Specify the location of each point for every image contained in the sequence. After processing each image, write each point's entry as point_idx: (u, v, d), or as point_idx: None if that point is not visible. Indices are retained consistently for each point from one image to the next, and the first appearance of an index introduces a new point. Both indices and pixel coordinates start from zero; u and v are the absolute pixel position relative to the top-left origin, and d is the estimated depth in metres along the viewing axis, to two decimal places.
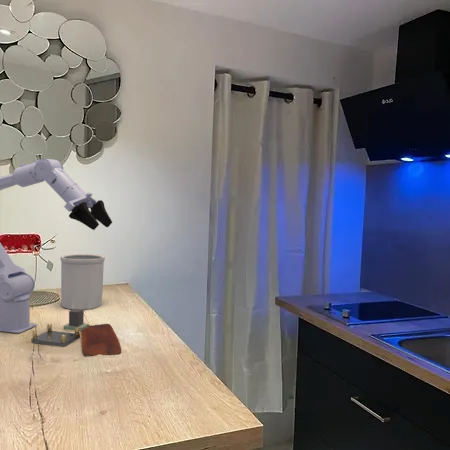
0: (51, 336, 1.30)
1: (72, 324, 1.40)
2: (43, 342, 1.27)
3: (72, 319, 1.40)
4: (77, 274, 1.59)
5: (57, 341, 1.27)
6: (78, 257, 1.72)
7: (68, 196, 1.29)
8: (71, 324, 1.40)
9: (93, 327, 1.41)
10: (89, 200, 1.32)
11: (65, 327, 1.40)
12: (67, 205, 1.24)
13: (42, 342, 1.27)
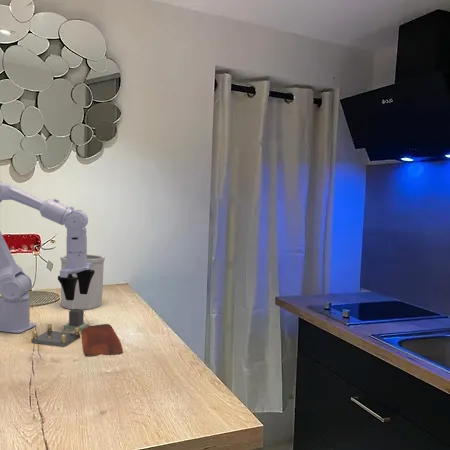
0: (51, 336, 1.30)
1: (72, 324, 1.40)
2: (43, 342, 1.27)
3: (72, 319, 1.40)
4: None
5: (57, 341, 1.27)
6: None
7: (71, 258, 1.37)
8: (71, 324, 1.40)
9: (93, 327, 1.41)
10: None
11: (65, 327, 1.40)
12: (62, 272, 1.32)
13: (42, 342, 1.27)
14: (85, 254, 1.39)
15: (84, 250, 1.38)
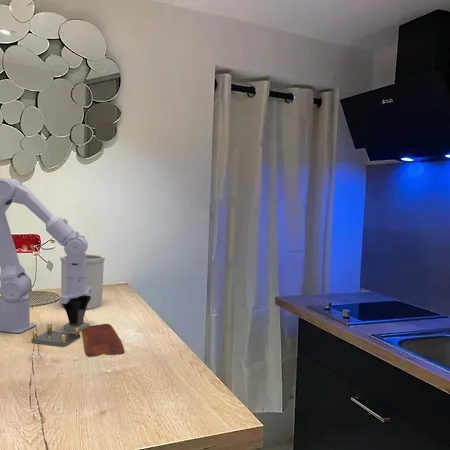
0: (51, 336, 1.30)
1: (72, 324, 1.40)
2: (43, 342, 1.27)
3: None
4: None
5: (57, 341, 1.27)
6: None
7: (71, 284, 1.37)
8: None
9: (94, 327, 1.41)
10: None
11: (65, 327, 1.40)
12: (62, 298, 1.33)
13: (42, 342, 1.27)
14: (85, 279, 1.39)
15: (84, 275, 1.39)
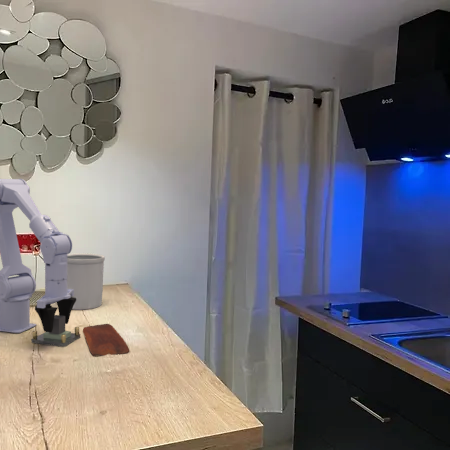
0: None
1: (53, 332, 1.29)
2: (43, 342, 1.27)
3: None
4: (77, 274, 1.59)
5: (57, 341, 1.27)
6: (78, 257, 1.72)
7: (50, 287, 1.26)
8: None
9: (94, 327, 1.41)
10: None
11: (45, 335, 1.29)
12: (40, 303, 1.22)
13: (42, 342, 1.27)
14: (65, 282, 1.28)
15: (58, 278, 1.26)
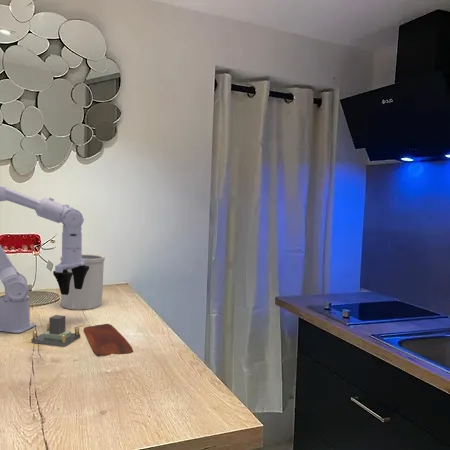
0: None
1: (53, 332, 1.29)
2: (43, 342, 1.27)
3: (52, 327, 1.29)
4: None
5: (57, 341, 1.27)
6: None
7: (66, 254, 1.41)
8: (51, 331, 1.29)
9: (95, 327, 1.41)
10: None
11: (45, 335, 1.29)
12: (58, 267, 1.37)
13: (42, 342, 1.27)
14: (80, 250, 1.43)
15: (80, 246, 1.44)
